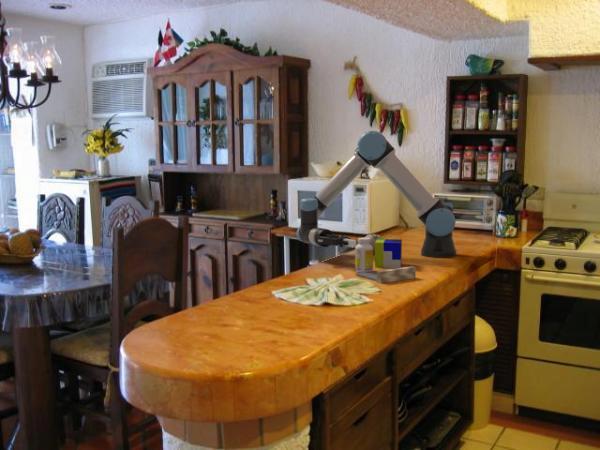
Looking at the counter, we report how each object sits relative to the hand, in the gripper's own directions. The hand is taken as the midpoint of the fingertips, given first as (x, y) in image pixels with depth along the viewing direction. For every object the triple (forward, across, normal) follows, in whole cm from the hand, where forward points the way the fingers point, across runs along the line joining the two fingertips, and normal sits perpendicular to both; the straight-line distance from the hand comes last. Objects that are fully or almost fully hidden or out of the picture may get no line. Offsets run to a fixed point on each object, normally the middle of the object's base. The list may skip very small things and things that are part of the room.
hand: (354, 244), depth 240 cm
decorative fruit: (-25, -29, -10) cm, 39 cm away
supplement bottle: (+6, 0, -10) cm, 12 cm away
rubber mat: (+17, 0, -10) cm, 20 cm away
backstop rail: (+25, 0, -10) cm, 27 cm away
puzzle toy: (+1, -16, -10) cm, 19 cm away
